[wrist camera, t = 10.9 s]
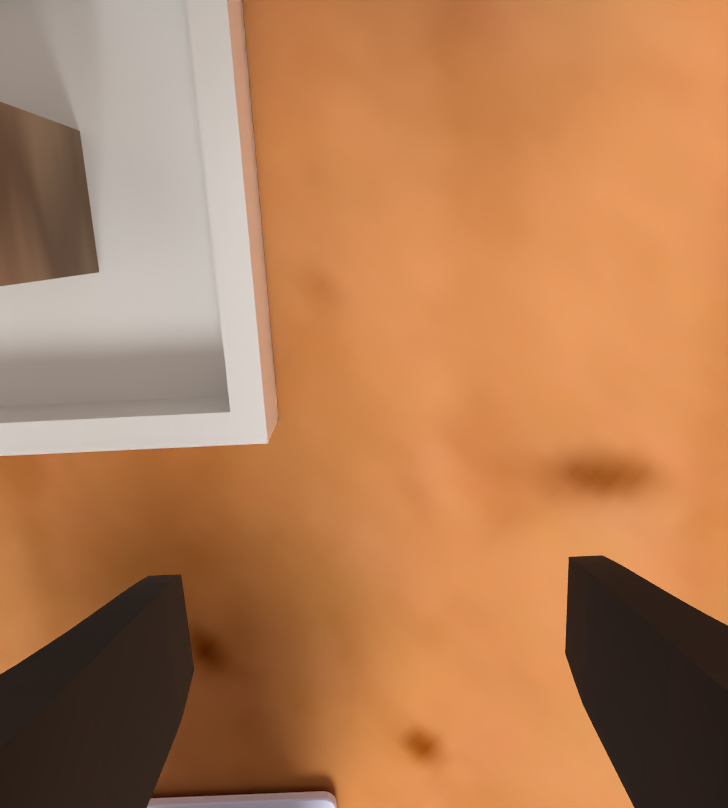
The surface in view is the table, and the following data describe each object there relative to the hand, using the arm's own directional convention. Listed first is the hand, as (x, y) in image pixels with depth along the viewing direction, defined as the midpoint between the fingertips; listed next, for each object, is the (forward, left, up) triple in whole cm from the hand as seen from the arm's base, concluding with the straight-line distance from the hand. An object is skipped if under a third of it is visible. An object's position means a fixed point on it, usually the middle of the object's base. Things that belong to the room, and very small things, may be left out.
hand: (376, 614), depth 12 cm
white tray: (+8, +10, -10) cm, 16 cm away
